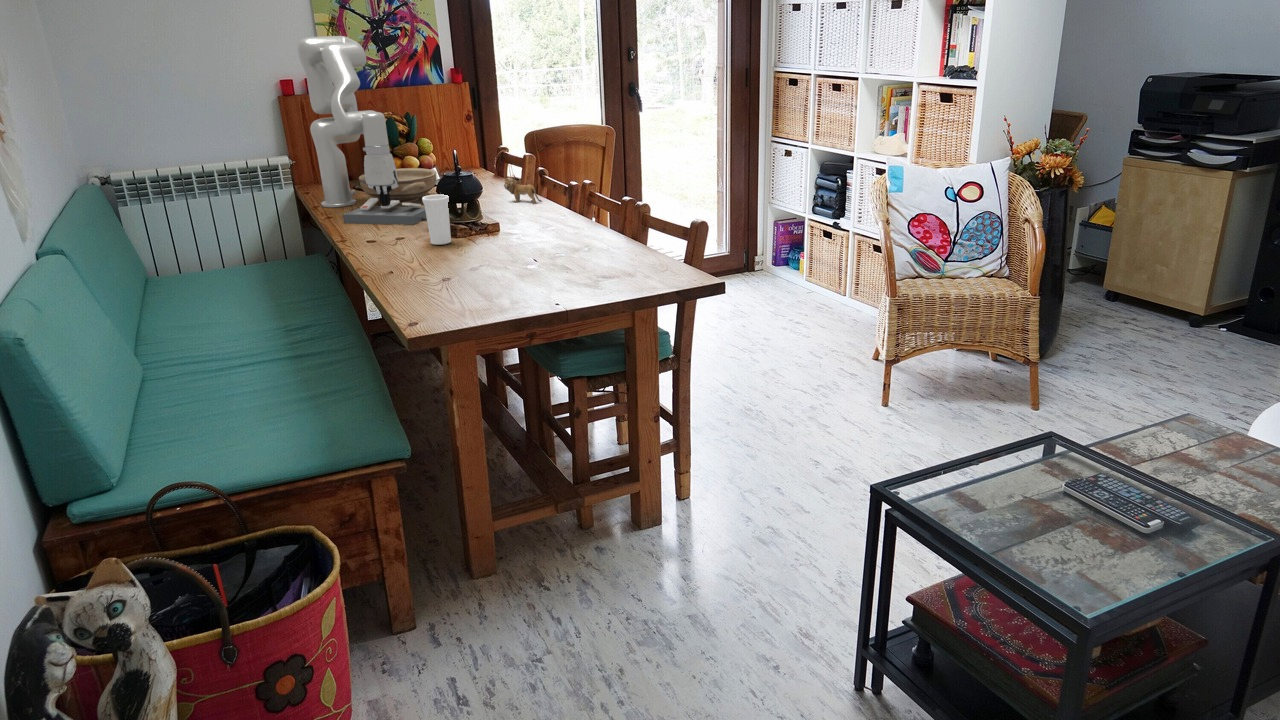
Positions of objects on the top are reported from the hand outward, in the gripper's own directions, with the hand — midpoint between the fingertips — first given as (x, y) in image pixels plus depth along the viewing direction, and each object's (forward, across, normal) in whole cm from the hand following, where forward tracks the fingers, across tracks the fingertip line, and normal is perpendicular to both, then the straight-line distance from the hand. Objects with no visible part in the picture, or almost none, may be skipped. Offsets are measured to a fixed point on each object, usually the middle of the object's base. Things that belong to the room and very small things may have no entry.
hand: (385, 205), depth 297 cm
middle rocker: (+1, 0, +4) cm, 4 cm away
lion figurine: (+6, +36, +34) cm, 50 cm away
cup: (+6, +34, -28) cm, 44 cm away
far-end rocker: (+1, -8, +3) cm, 9 cm away
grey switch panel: (+5, +3, +1) cm, 6 cm away
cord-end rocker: (+1, +8, +4) cm, 9 cm away
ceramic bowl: (+5, -12, +32) cm, 35 cm away
